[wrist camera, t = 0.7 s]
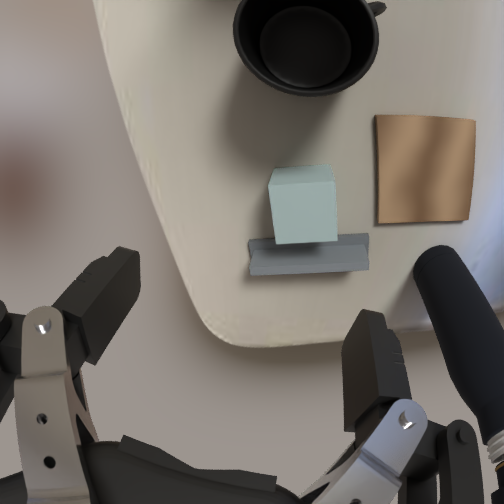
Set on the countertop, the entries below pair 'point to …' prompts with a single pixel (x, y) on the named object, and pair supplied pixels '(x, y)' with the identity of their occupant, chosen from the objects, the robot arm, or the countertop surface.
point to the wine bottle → (467, 344)
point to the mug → (307, 42)
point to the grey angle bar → (309, 256)
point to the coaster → (424, 168)
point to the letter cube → (303, 204)
